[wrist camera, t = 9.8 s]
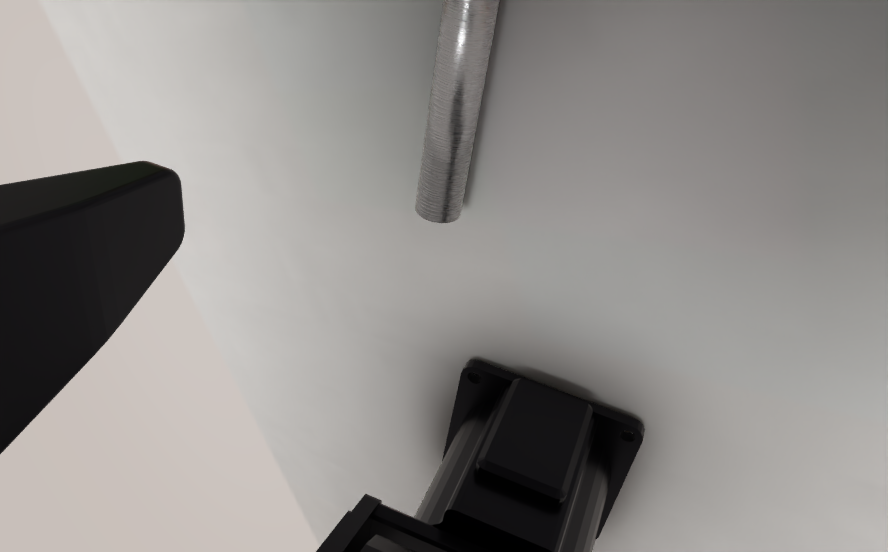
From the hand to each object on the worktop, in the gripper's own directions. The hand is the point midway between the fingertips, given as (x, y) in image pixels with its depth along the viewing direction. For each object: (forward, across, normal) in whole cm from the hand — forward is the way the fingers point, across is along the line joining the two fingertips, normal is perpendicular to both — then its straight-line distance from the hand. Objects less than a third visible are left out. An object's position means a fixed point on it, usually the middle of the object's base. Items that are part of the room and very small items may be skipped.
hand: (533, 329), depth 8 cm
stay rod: (+13, +5, +2) cm, 14 cm away
